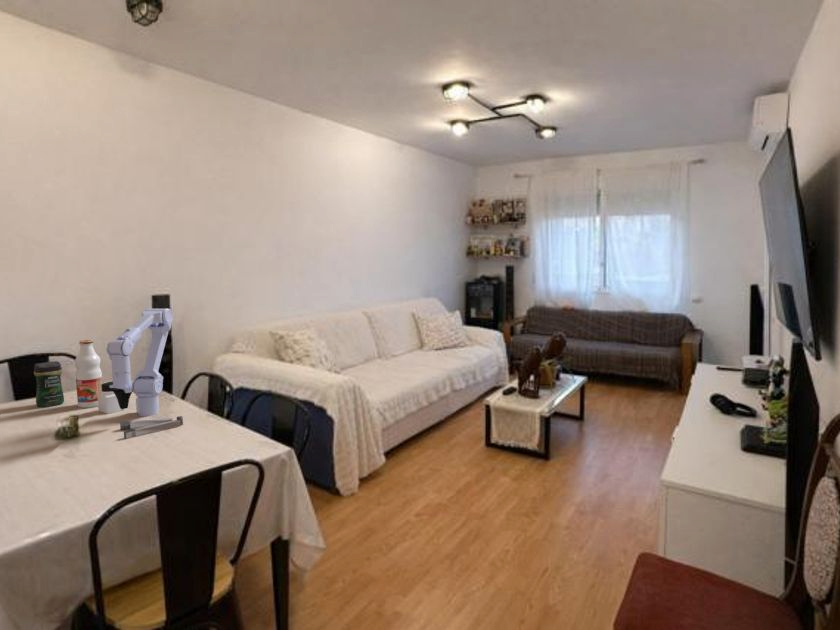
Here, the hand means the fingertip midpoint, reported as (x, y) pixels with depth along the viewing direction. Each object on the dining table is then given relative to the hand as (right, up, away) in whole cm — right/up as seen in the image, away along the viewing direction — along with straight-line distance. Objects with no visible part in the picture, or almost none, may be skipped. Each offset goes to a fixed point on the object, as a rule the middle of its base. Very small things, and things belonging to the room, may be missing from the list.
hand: (123, 408), depth 183 cm
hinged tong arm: (+9, -7, -1) cm, 12 cm away
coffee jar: (-50, -4, +31) cm, 59 cm away
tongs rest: (+11, -8, -3) cm, 14 cm away
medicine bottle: (-19, -5, +23) cm, 30 cm away
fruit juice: (-32, -5, +31) cm, 45 cm away
